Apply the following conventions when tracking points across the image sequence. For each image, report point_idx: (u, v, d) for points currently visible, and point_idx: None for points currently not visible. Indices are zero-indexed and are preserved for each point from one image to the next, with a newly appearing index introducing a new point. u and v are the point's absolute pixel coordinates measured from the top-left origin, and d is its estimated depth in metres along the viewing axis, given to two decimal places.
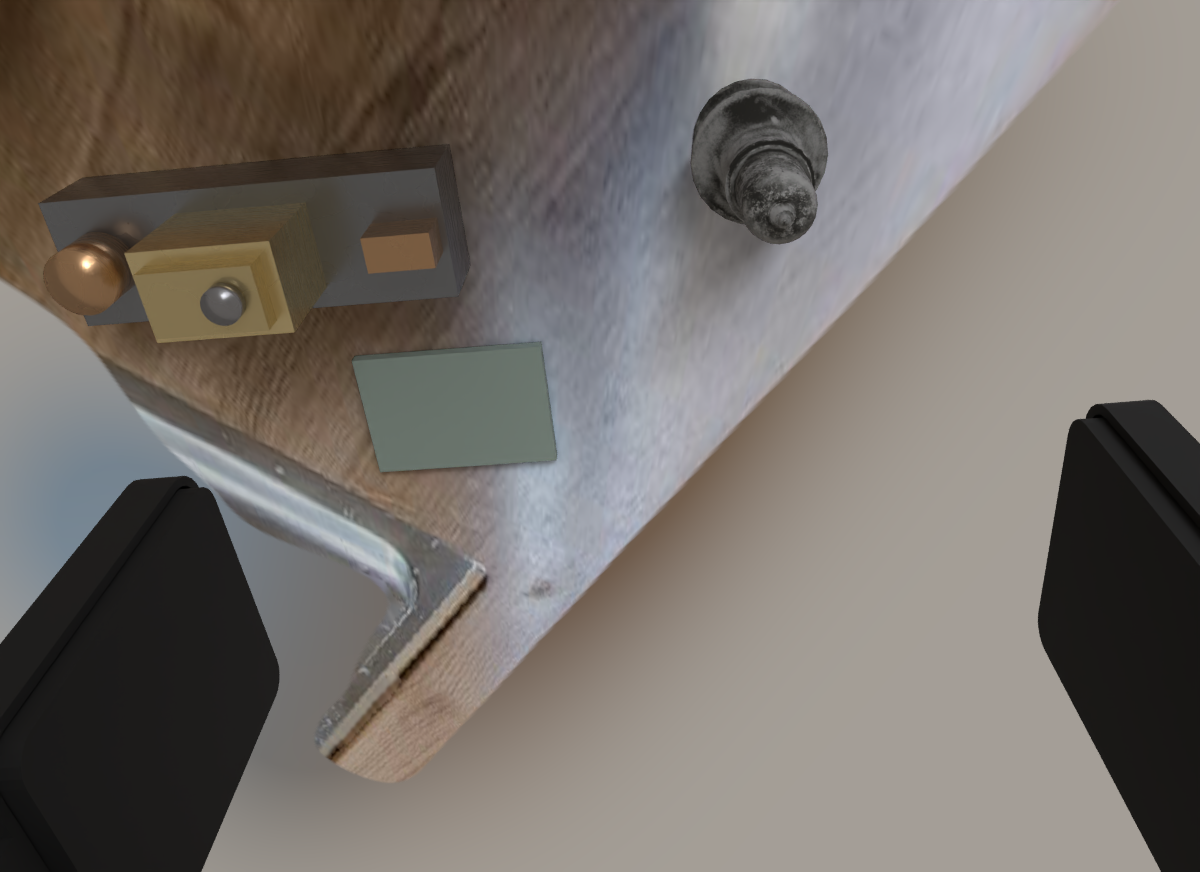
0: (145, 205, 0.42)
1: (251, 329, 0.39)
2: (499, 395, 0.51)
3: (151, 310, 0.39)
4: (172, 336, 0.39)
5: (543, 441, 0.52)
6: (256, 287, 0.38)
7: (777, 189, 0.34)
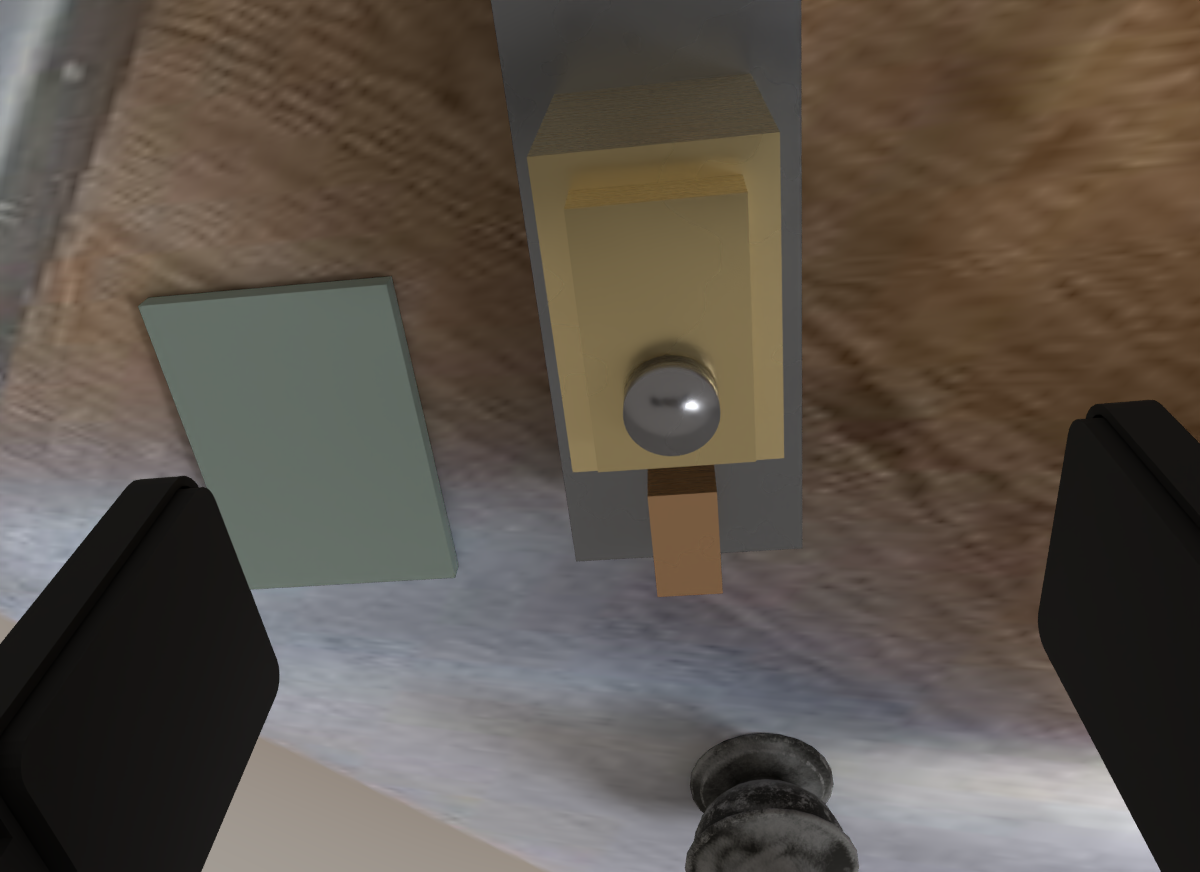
0: (774, 6, 0.19)
1: (599, 436, 0.17)
2: (355, 518, 0.29)
3: (647, 216, 0.15)
4: (574, 254, 0.15)
5: (278, 574, 0.31)
6: (702, 464, 0.17)
7: None
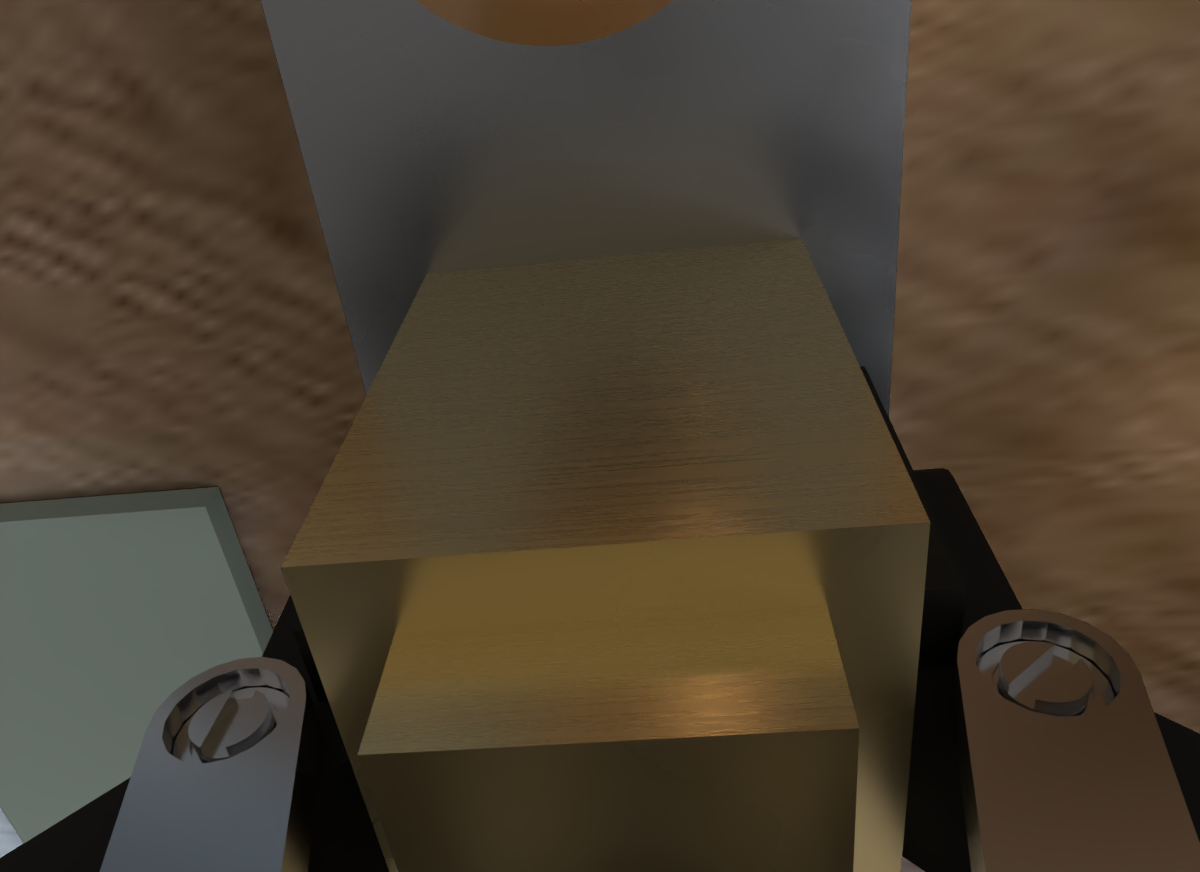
0: (851, 116, 0.09)
1: None
2: None
3: (583, 767, 0.05)
4: (397, 837, 0.06)
5: None
6: None
7: None
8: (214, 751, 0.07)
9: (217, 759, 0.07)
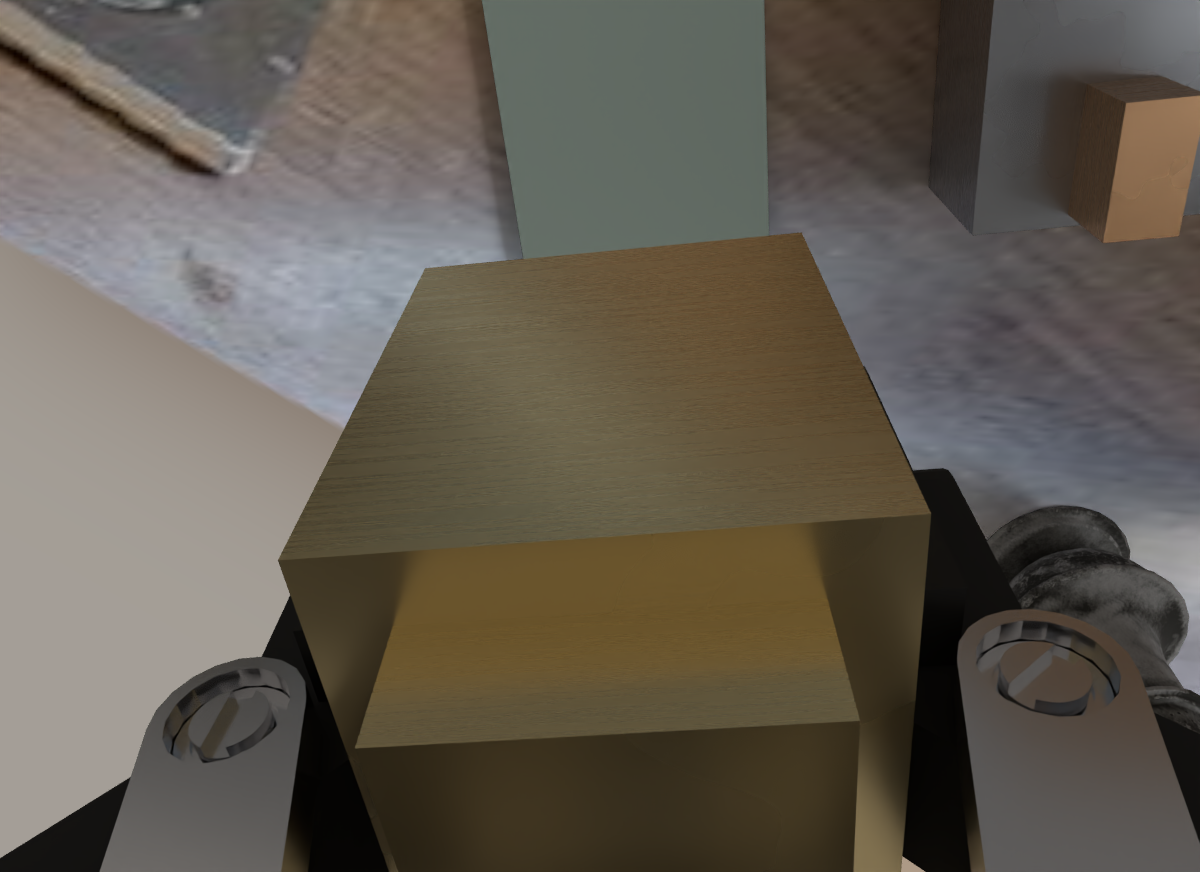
0: None
1: None
2: (673, 235, 0.27)
3: (581, 761, 0.05)
4: (395, 832, 0.06)
5: None
6: None
7: None
8: (214, 751, 0.07)
9: (217, 759, 0.07)
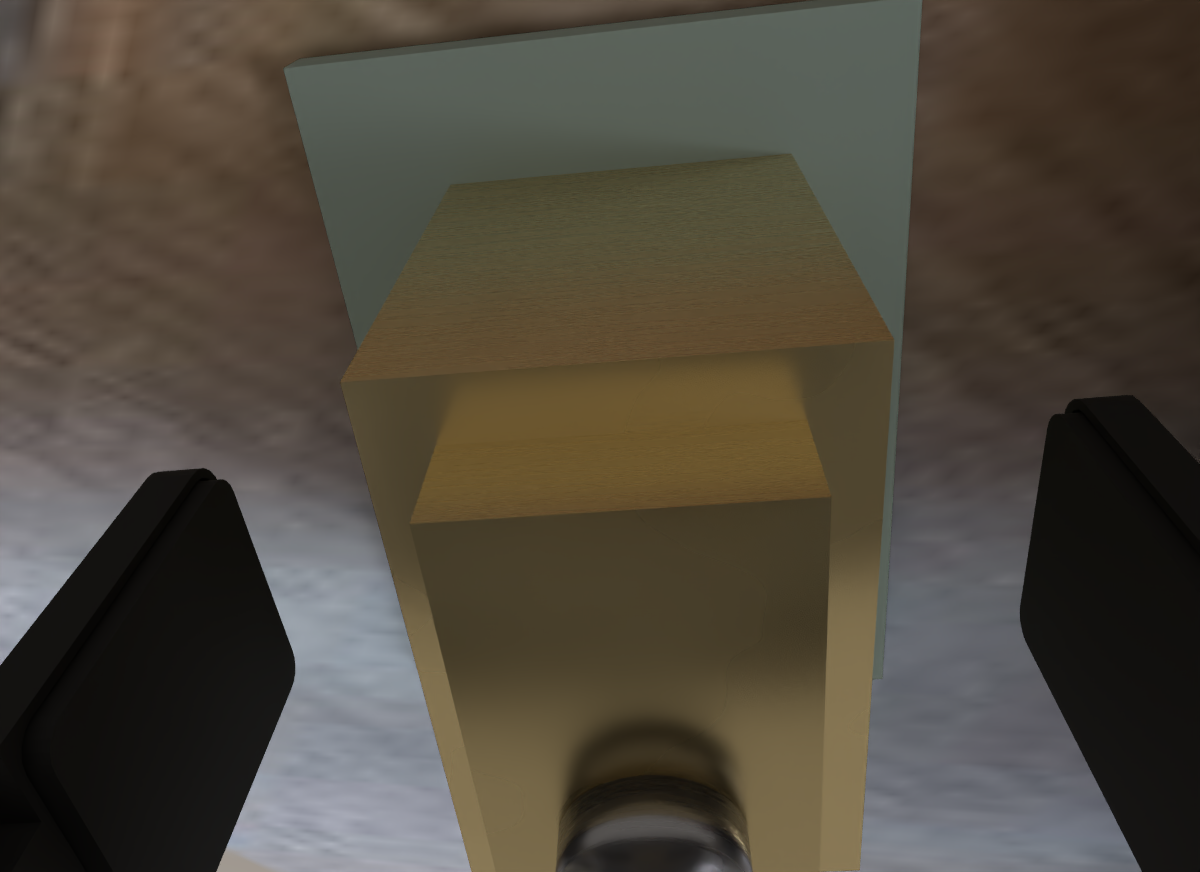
0: None
1: None
2: None
3: (599, 537, 0.06)
4: (439, 606, 0.07)
5: None
6: None
7: None
8: None
9: None
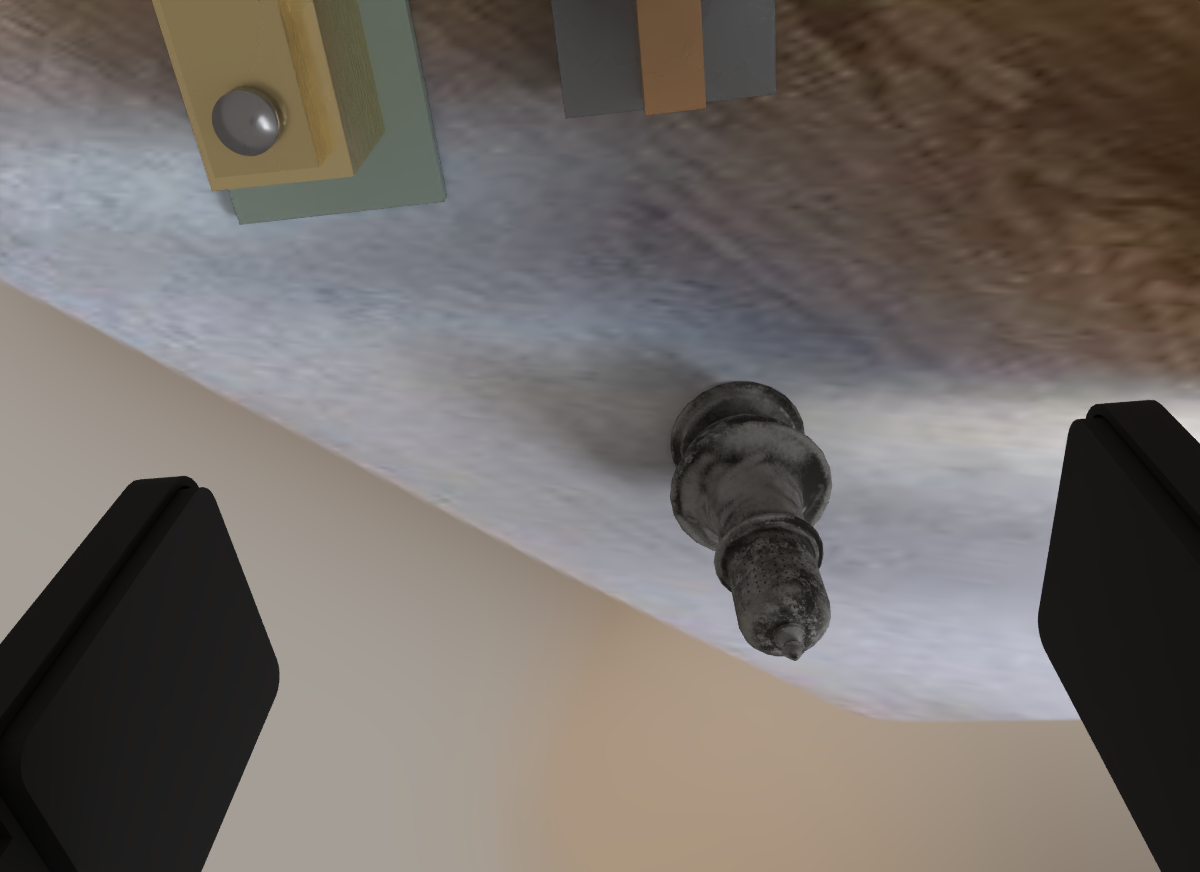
0: None
1: (210, 149, 0.25)
2: None
3: None
4: (165, 12, 0.23)
5: (271, 204, 0.32)
6: (283, 170, 0.25)
7: (817, 625, 0.28)
8: None
9: None
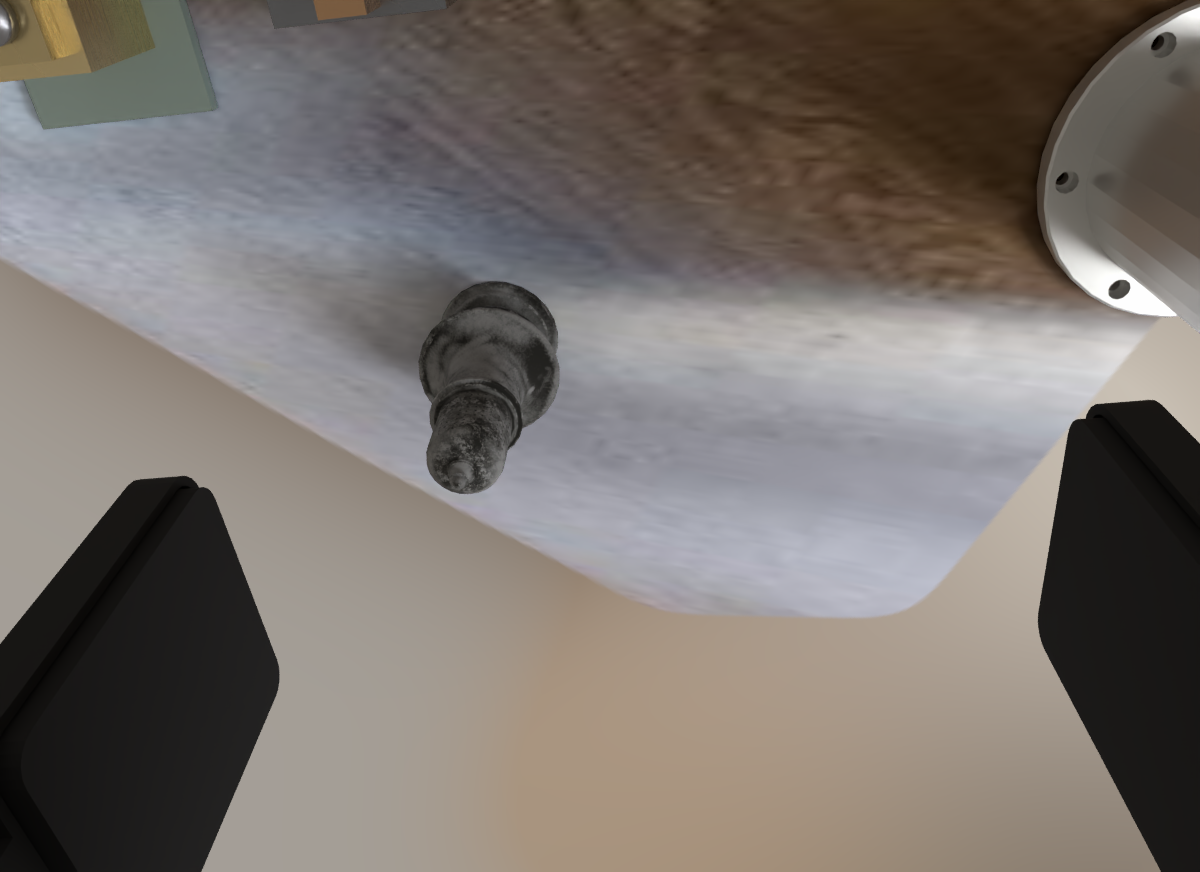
0: None
1: None
2: None
3: None
4: None
5: (68, 111, 0.38)
6: (24, 63, 0.31)
7: (486, 463, 0.33)
8: None
9: None
